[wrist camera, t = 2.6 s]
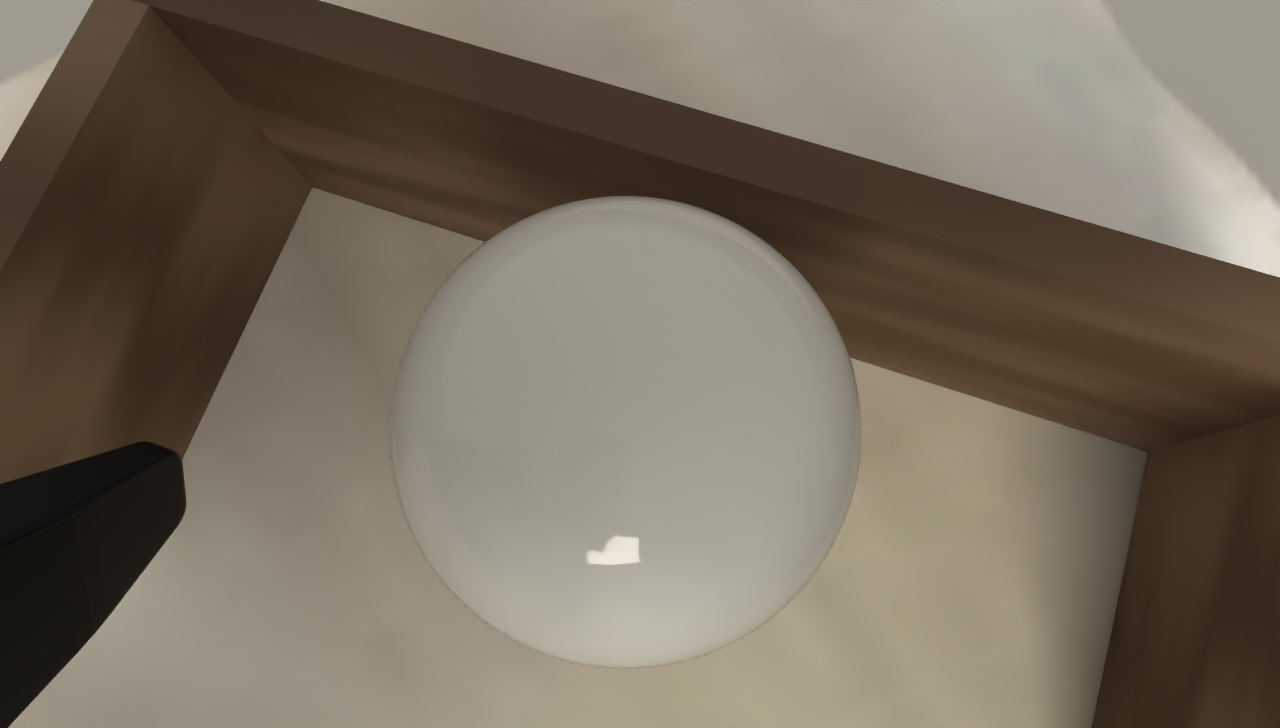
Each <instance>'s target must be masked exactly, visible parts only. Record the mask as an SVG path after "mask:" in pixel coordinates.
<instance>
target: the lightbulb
mask: <svg viewBox="0 0 1280 728" xmlns="http://www.w3.org/2000/svg"><path fill="white" fill-rule="evenodd" d="M390 453H391V463H392V470H393V476H394V482H395V486H396V490H397V494H398V498H399V501H400V505H401V508H402V511H403V513H404V516H405V519H406V521H407V524H408V526H409V529H410V531H411V533H412V535H413V537H414V539H415V541H416V543H417V545H418V547H419V549H420V550H421V552H422V554H423V555H424V557H425V559H426V560H427V562H428V563H429V565H430V566H431V568H432V569H433V571H434V572H435V573H436V575H437V576H438V577H439V579H440V580H441V581H442V582H443V583H444V585H445V586H446V587H447V588H448V589H449V590H450V592H451V593H452V594H453V595H454V596H455V597H456V598H457V599H458V600H459V601H460V602H461V603H462V604H463V605H464V606H465V607H467V608H468V609H469V610H470V611H471V612H472V613H473V614H475V615H476V616H477V617H478V618H480V619H481V620H482V621H484V622H485V623H486V624H488V625H489V626H491V627H492V628H493V629H495V630H496V631H498V632H500V633H501V634H503V635H504V636H506V637H508V638H510V639H512V640H513V641H515V642H517V643H519V644H521V645H523V646H525V647H527V648H530V649H532V650H534V651H536V652H539V653H541V654H544V655H547V656H549V657H553V658H556V659H559V660H562V661H566V662H570V663H575V664H580V665H585V666H591V667H599V668H611V669H640V668H652V667H660V666H666V665H672V664H677V663H681V662H685V661H689V660H692V659H696V658H699V657H702V656H705V655H708V654H710V653H713V652H715V651H718V650H720V649H722V648H724V647H727V646H729V645H731V644H733V643H735V642H737V641H738V640H740V639H742V638H744V637H745V636H747V635H749V634H750V633H752V632H753V631H755V630H757V629H758V628H760V627H761V626H762V625H764V624H765V623H766V622H768V621H769V620H770V619H772V618H773V617H774V616H775V615H777V614H778V613H779V612H780V611H781V610H782V609H783V608H784V607H786V606H787V605H788V604H789V603H790V602H791V601H792V600H793V599H794V598H795V597H796V596H797V595H798V593H799V592H800V591H801V590H802V589H803V588H804V587H805V585H806V584H807V583H808V582H809V581H810V579H811V578H812V577H813V575H814V574H815V573H816V571H817V570H818V568H819V567H820V565H821V564H822V562H823V561H824V559H825V558H826V556H827V554H828V553H829V551H830V549H831V548H832V546H833V544H834V542H835V540H836V538H837V536H838V534H839V532H840V529H841V527H842V525H843V523H844V520H845V518H846V515H847V512H848V509H849V506H850V504H851V500H852V497H853V493H854V489H855V485H856V480H857V475H858V469H859V462H860V453H861V412H860V402H859V394H858V389H857V383H856V379H855V375H854V371H853V367H852V363H851V360H850V357H849V354H848V351H847V348H846V346H845V343H844V341H843V338H842V336H841V334H840V332H839V329H838V327H837V325H836V323H835V322H834V320H833V318H832V316H831V314H830V313H829V311H828V309H827V307H826V306H825V304H824V303H823V301H822V300H821V298H820V297H819V295H818V294H817V293H816V291H815V290H814V289H813V287H812V286H811V285H810V283H809V282H808V281H807V280H806V279H805V278H804V276H803V275H802V274H801V273H800V272H799V271H798V270H797V269H796V268H795V267H794V266H793V265H792V264H791V263H790V262H789V261H788V260H787V259H786V258H785V257H784V256H783V255H782V254H781V253H779V252H778V251H777V250H776V249H775V248H773V247H772V246H771V245H770V244H768V243H767V242H765V241H764V240H763V239H761V238H760V237H758V236H757V235H755V234H754V233H752V232H751V231H749V230H747V229H746V228H744V227H742V226H740V225H739V224H737V223H735V222H733V221H731V220H729V219H727V218H724V217H722V216H720V215H718V214H715V213H713V212H710V211H708V210H705V209H702V208H699V207H696V206H693V205H690V204H686V203H682V202H678V201H673V200H668V199H662V198H655V197H646V196H606V197H596V198H589V199H583V200H578V201H573V202H569V203H565V204H561V205H558V206H555V207H552V208H549V209H546V210H543V211H540V212H538V213H536V214H533V215H531V216H529V217H527V218H524V219H522V220H520V221H518V222H516V223H515V224H513V225H511V226H509V227H507V228H506V229H504V230H502V231H501V232H499V233H498V234H496V235H495V236H493V237H492V238H490V239H489V240H487V241H486V242H485V243H483V244H482V245H481V246H479V247H478V248H477V249H476V250H475V251H473V252H472V253H471V254H470V255H469V256H468V257H467V258H465V259H464V260H463V261H462V262H461V263H460V264H459V265H458V266H457V267H456V268H455V269H454V270H453V272H452V273H451V274H450V275H449V276H448V277H447V278H446V279H445V281H444V282H443V283H442V284H441V286H440V287H439V288H438V290H437V291H436V292H435V294H434V295H433V297H432V298H431V300H430V301H429V303H428V304H427V306H426V307H425V309H424V311H423V312H422V314H421V316H420V317H419V319H418V321H417V323H416V325H415V327H414V329H413V331H412V333H411V335H410V338H409V340H408V342H407V345H406V347H405V350H404V353H403V356H402V359H401V362H400V365H399V368H398V372H397V376H396V380H395V385H394V390H393V396H392V404H391V413H390Z"/></svg>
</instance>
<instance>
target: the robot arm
mask: <svg viewBox="0 0 1280 728" xmlns="http://www.w3.org/2000/svg"><path fill="white" fill-rule="evenodd" d="M185 509H186V493H185V484H184V474H183V464H182V459H181V457H180V455H179V454H178V453H177V452H176V451H174V450H172V449H169V448H166V447H164V446H161V445H158V444H155V443H152V442H147V441H142V442H137V443H133V444H130V445H127V446H123V447H120V448H117V449H113V450H110V451H107V452H103V453H100V454H97V455H94V456H90V457H87V458H84V459H80V460H77V461H74V462H71V463H67V464H64V465H61V466H57V467H54V468H51V469H48V470H44V471H41V472H38V473H34V474H31V475H28V476H25V477H21V478H18V479H15V480H11V481H8V482H5V483H2V484H0V728H8V727H9V726H10V725H11V724H12V723H13V721H14V720H15V719H16V718H17V717H18V716H19V715H20V714H21V713H22V712H23V711H24V710H25V709H26V707H27V706H28V705H29V704H30V703H31V702H32V701H33V700H34V699H35V698H36V697H37V696H38V695H39V693H40V692H41V691H42V690H43V689H44V688H45V687H46V686H47V685H48V684H49V683H50V682H51V681H52V679H53V678H54V677H55V676H56V675H57V674H58V673H59V672H60V671H61V670H62V669H63V668H64V667H65V666H66V664H67V663H68V662H69V661H70V660H71V659H72V658H73V657H74V656H75V655H76V654H77V653H78V652H79V650H80V649H81V648H82V647H83V646H84V645H85V644H86V643H87V641H88V640H89V639H90V638H91V637H92V636H93V635H94V634H95V632H96V631H97V630H98V629H99V628H100V626H101V625H102V624H103V623H104V621H105V620H106V619H107V618H108V616H109V615H110V614H111V613H112V611H113V610H114V609H115V607H116V606H117V605H118V604H119V602H120V601H121V600H122V598H123V597H124V596H125V594H126V593H127V592H128V590H129V589H130V588H131V586H132V585H133V584H134V583H135V581H136V580H137V579H138V577H139V576H140V575H141V573H142V572H143V571H144V569H145V568H146V567H147V566H148V564H149V563H150V562H151V560H152V559H153V558H154V556H155V555H156V554H157V552H158V551H159V550H160V548H161V547H162V546H163V545H164V543H165V542H166V541H167V539H168V538H169V537H170V535H171V534H172V533H173V531H174V530H175V529H176V528H177V526H178V525H179V523H180V522H181V520H182V518H183V515H184V513H185Z"/></svg>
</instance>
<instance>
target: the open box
mask: <svg viewBox="0 0 1280 728" xmlns="http://www.w3.org/2000/svg"><path fill="white" fill-rule="evenodd" d="M311 187H315V188H318V189H321V190H324V191H327V192H330V193H333V194H337V195H340V196H343V197H346V198H349V199H352V200H356V201H359V202H362V203H365V204H368V205H371V206H375V207H378V208H381V209H384V210H387V211H390V212H393V213H397V214H400V215H403V216H406V217H409V218H412V219H416V220H419V221H422V222H425V223H428V224H431V225H434V226H438V227H441V228H444V229H447V230H450V231H453V232H457V233H460V234H463V235H466V236H469V237H472V238H476V239H479V240H482V241H485V242H486V241H487V240H489V239H490V238H492V237H493V236H495V235H496V234H498V233H499V232H501V231H502V230H504V229H506V228H507V227H509V226H511V225H513V224H515V223H516V222H518V221H520V220H522V219H524V218H527V217H529V216H531V215H533V214H536V213H538V212H540V211H543V210H546V209H549V208H552V207H555V206H558V205H561V204H565V203H569V202H573V201H578V200H583V199H589V198H596V197H606V196H646V197H655V198H662V199H668V200H673V201H678V202H682V203H686V204H690V205H693V206H696V207H699V208H702V209H705V210H708V211H710V212H713V213H715V214H718V215H720V216H722V217H724V218H727V219H729V220H731V221H733V222H735V223H737V224H739V225H740V226H742V227H744V228H746V229H747V230H749V231H751V232H752V233H754V234H755V235H757V236H758V237H760V238H761V239H763V240H764V241H765V242H767V243H768V244H770V245H771V246H772V247H773V248H775V249H776V250H777V251H778V252H779V253H781V254H782V255H783V256H784V257H785V258H786V259H787V260H788V261H789V262H790V263H791V264H792V265H793V266H794V267H795V268H796V269H797V270H798V271H799V272H800V273H801V274H802V275H803V276H804V278H805V279H806V280H807V281H808V282H809V283H810V285H811V286H812V287H813V289H814V290H815V291H816V293H817V294H818V295H819V297H820V298H821V300H822V301H823V303H824V304H825V306H826V307H827V309H828V311H829V313H830V314H831V316H832V318H833V320H834V322H835V323H836V325H837V327H838V329H839V332H840V334H841V336H842V338H843V341H844V343H845V346H846V348H847V351H848V354H849V357H851V358H854V359H857V360H861V361H864V362H867V363H870V364H873V365H876V366H880V367H883V368H886V369H889V370H892V371H895V372H898V373H902V374H905V375H908V376H911V377H914V378H917V379H921V380H924V381H927V382H930V383H933V384H936V385H939V386H943V387H946V388H949V389H952V390H955V391H958V392H962V393H965V394H968V395H971V396H974V397H977V398H981V399H984V400H987V401H990V402H993V403H996V404H999V405H1003V406H1006V407H1009V408H1012V409H1015V410H1018V411H1022V412H1025V413H1028V414H1031V415H1034V416H1037V417H1040V418H1044V419H1047V420H1050V421H1053V422H1056V423H1059V424H1063V425H1066V426H1069V427H1072V428H1075V429H1078V430H1082V431H1085V432H1088V433H1091V434H1094V435H1097V436H1100V437H1104V438H1107V439H1110V440H1113V441H1116V442H1119V443H1123V444H1126V445H1129V446H1132V447H1135V448H1138V449H1141V450H1145V451H1148V452H1149V454H1148V459H1147V464H1146V469H1145V473H1144V478H1143V483H1142V488H1141V493H1140V498H1139V503H1138V508H1137V513H1136V517H1135V522H1134V527H1133V532H1132V537H1131V542H1130V547H1129V552H1128V556H1127V561H1126V566H1125V571H1124V576H1123V581H1122V586H1121V591H1120V596H1119V600H1118V605H1117V610H1116V615H1115V620H1114V625H1113V630H1112V635H1111V639H1110V644H1109V649H1108V654H1107V659H1106V664H1105V669H1104V674H1103V679H1102V683H1101V688H1100V693H1099V698H1098V703H1097V708H1096V713H1095V718H1094V722H1093V727H1092V728H1280V278H1279V277H1276V276H1272V275H1269V274H1265V273H1262V272H1258V271H1255V270H1251V269H1248V268H1244V267H1241V266H1237V265H1234V264H1230V263H1227V262H1224V261H1220V260H1217V259H1213V258H1210V257H1206V256H1203V255H1199V254H1196V253H1192V252H1189V251H1185V250H1182V249H1178V248H1175V247H1172V246H1168V245H1165V244H1161V243H1158V242H1154V241H1151V240H1147V239H1144V238H1140V237H1137V236H1133V235H1130V234H1126V233H1123V232H1120V231H1116V230H1113V229H1109V228H1106V227H1102V226H1099V225H1095V224H1092V223H1088V222H1085V221H1081V220H1078V219H1074V218H1071V217H1068V216H1064V215H1061V214H1057V213H1054V212H1050V211H1047V210H1043V209H1040V208H1036V207H1033V206H1029V205H1026V204H1022V203H1019V202H1016V201H1012V200H1009V199H1005V198H1002V197H998V196H995V195H991V194H988V193H984V192H981V191H977V190H974V189H970V188H967V187H964V186H960V185H957V184H953V183H950V182H946V181H943V180H939V179H936V178H932V177H929V176H925V175H922V174H918V173H915V172H912V171H908V170H905V169H901V168H898V167H894V166H891V165H887V164H884V163H880V162H877V161H873V160H870V159H866V158H863V157H860V156H856V155H853V154H849V153H846V152H842V151H839V150H835V149H832V148H828V147H825V146H821V145H818V144H814V143H811V142H808V141H804V140H801V139H797V138H794V137H790V136H787V135H783V134H780V133H776V132H773V131H769V130H766V129H762V128H759V127H756V126H752V125H749V124H745V123H742V122H738V121H735V120H731V119H728V118H724V117H721V116H717V115H714V114H710V113H707V112H704V111H700V110H697V109H693V108H690V107H686V106H683V105H679V104H676V103H672V102H669V101H665V100H662V99H658V98H655V97H652V96H648V95H645V94H641V93H638V92H634V91H631V90H627V89H624V88H620V87H617V86H613V85H610V84H606V83H603V82H600V81H596V80H593V79H589V78H586V77H582V76H579V75H575V74H572V73H568V72H565V71H561V70H558V69H554V68H551V67H548V66H544V65H541V64H537V63H534V62H530V61H527V60H523V59H520V58H516V57H513V56H509V55H506V54H502V53H499V52H496V51H492V50H489V49H485V48H482V47H478V46H475V45H471V44H468V43H464V42H461V41H457V40H454V39H450V38H447V37H444V36H440V35H437V34H433V33H430V32H426V31H423V30H419V29H416V28H412V27H409V26H405V25H402V24H398V23H395V22H392V21H388V20H385V19H381V18H378V17H374V16H371V15H367V14H364V13H360V12H357V11H353V10H350V9H346V8H343V7H340V6H336V5H333V4H329V3H326V2H322V1H319V0H94V1H93V2H92V4H91V6H90V8H89V9H88V11H87V13H86V15H85V16H84V18H83V20H82V22H81V23H80V25H79V27H78V28H77V30H76V32H75V34H74V35H73V37H72V39H71V41H70V42H69V44H68V46H67V48H66V49H65V51H64V53H63V54H62V56H61V58H60V60H59V61H58V63H57V65H56V67H55V68H54V70H53V72H52V73H51V75H50V77H49V79H48V80H47V82H46V84H45V86H44V87H43V89H42V91H41V93H40V94H39V96H38V98H37V99H36V101H35V103H34V105H33V106H32V108H31V110H30V112H29V113H28V115H27V117H26V118H25V120H24V122H23V124H22V125H21V127H20V129H19V131H18V132H17V134H16V136H15V138H14V139H13V141H12V143H11V144H10V146H9V148H8V150H7V151H6V153H5V155H4V157H3V158H2V160H1V162H0V484H2V483H5V482H8V481H11V480H15V479H18V478H21V477H25V476H28V475H31V474H34V473H38V472H41V471H44V470H48V469H51V468H54V467H57V466H61V465H64V464H67V463H71V462H74V461H77V460H80V459H84V458H87V457H90V456H94V455H97V454H100V453H103V452H107V451H110V450H113V449H117V448H120V447H123V446H127V445H130V444H133V443H137V442H142V441H147V442H152V443H155V444H158V445H161V446H164V447H166V448H169V449H172V450H174V451H176V452H177V453H178V454H179V455H180V457H181V459H182V457H183V455H184V453H185V451H186V449H187V447H188V445H189V443H190V441H191V439H192V436H193V434H194V432H195V430H196V428H197V426H198V424H199V422H200V420H201V418H202V416H203V413H204V411H205V409H206V407H207V405H208V403H209V401H210V399H211V397H212V395H213V393H214V390H215V388H216V386H217V384H218V382H219V380H220V378H221V376H222V374H223V372H224V370H225V367H226V365H227V363H228V361H229V359H230V357H231V355H232V353H233V351H234V349H235V347H236V344H237V342H238V340H239V338H240V336H241V334H242V332H243V330H244V328H245V326H246V323H247V321H248V319H249V317H250V315H251V313H252V311H253V309H254V307H255V305H256V303H257V300H258V298H259V296H260V294H261V292H262V290H263V288H264V286H265V284H266V282H267V280H268V277H269V275H270V273H271V271H272V269H273V267H274V265H275V263H276V261H277V259H278V257H279V254H280V252H281V250H282V248H283V246H284V244H285V242H286V240H287V238H288V236H289V233H290V231H291V229H292V227H293V225H294V223H295V221H296V219H297V217H298V215H299V213H300V210H301V208H302V206H303V204H304V202H305V200H306V198H307V196H308V194H309V192H310V190H311Z"/></svg>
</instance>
